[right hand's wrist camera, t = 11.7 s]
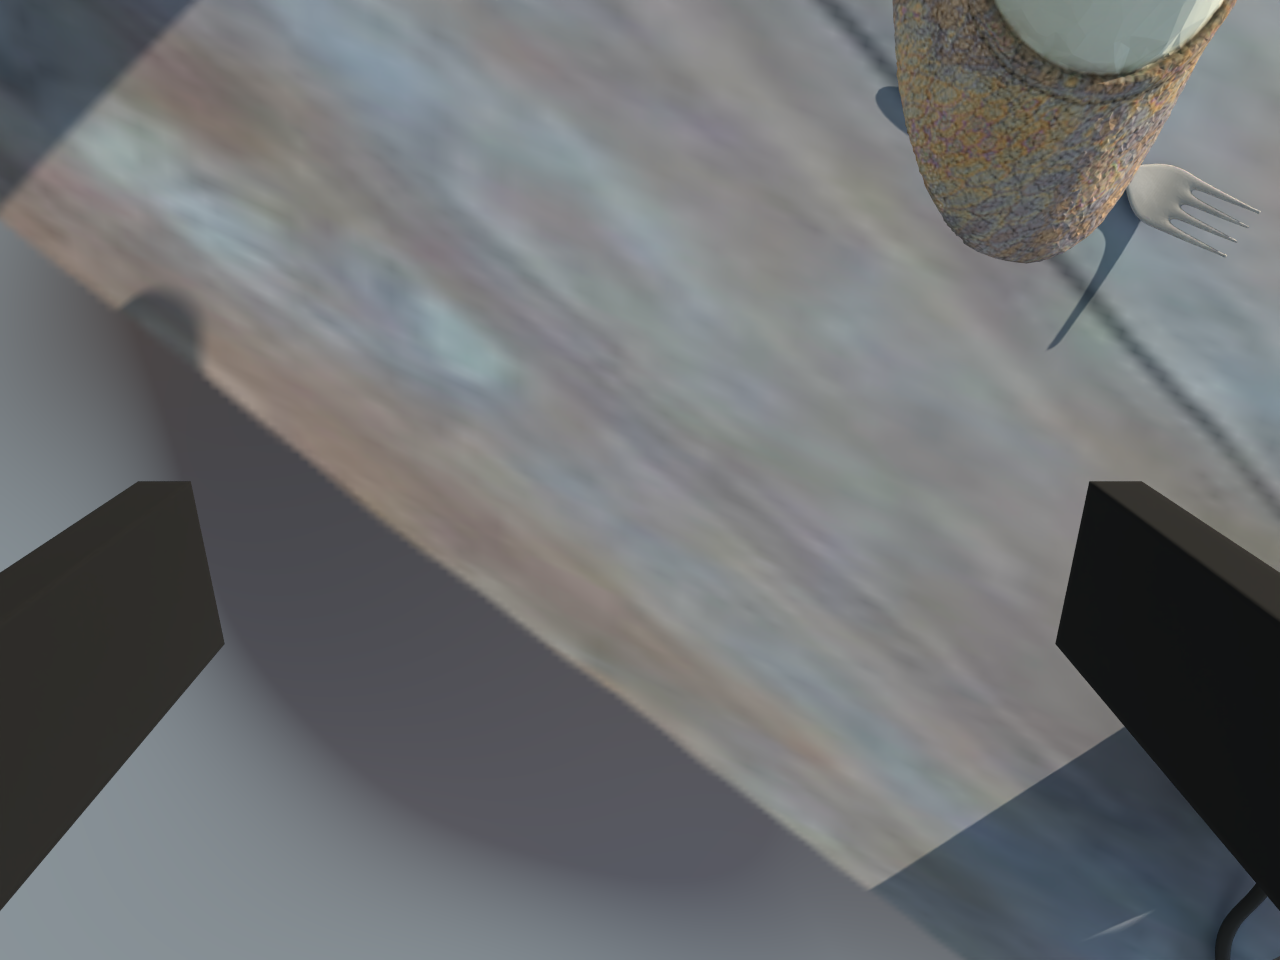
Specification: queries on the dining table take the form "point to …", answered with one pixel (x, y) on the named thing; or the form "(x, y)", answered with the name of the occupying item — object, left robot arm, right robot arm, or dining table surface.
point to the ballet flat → (1040, 108)
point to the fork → (1175, 201)
